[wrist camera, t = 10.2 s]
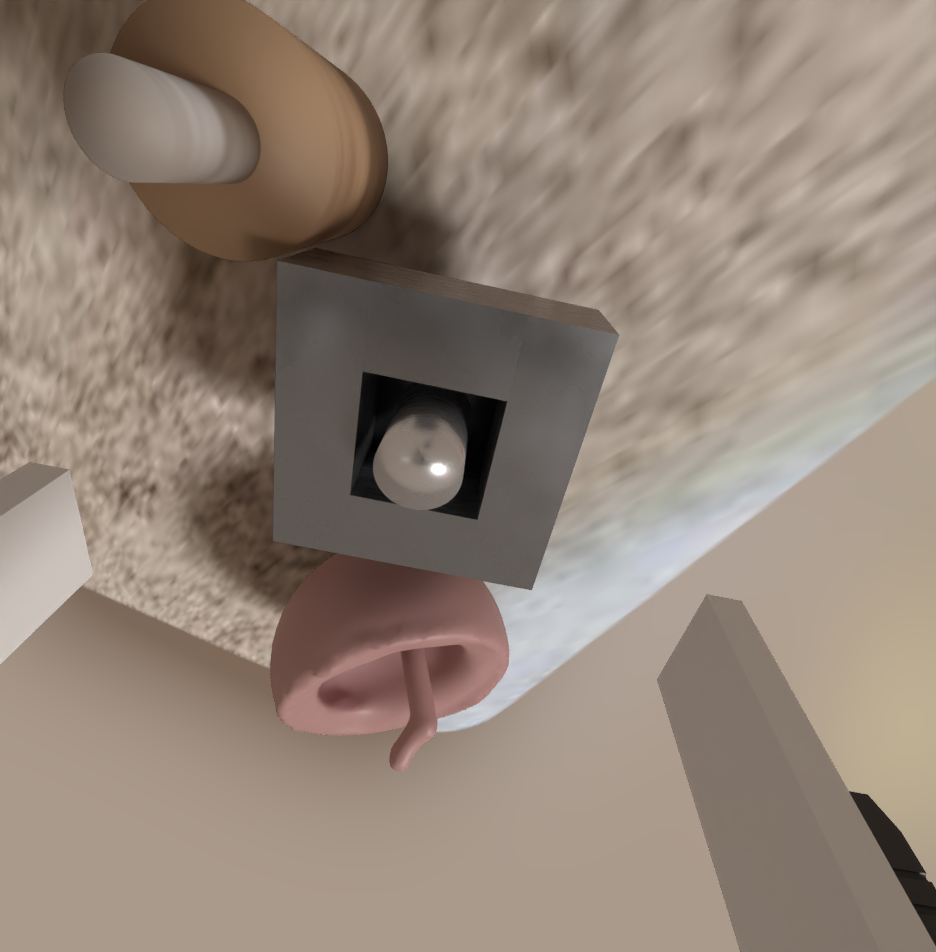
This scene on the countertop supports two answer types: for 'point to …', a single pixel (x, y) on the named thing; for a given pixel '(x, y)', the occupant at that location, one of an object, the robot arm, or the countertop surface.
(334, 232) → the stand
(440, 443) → the dark bottle with stopper
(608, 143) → the countertop surface
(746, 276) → the countertop surface
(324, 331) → the square hole block
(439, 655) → the mortar and pestle
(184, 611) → the countertop surface
